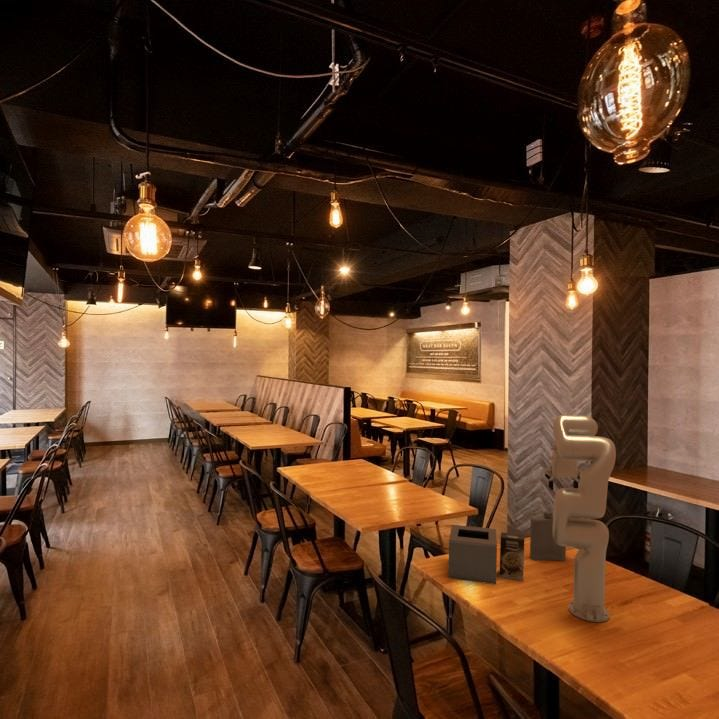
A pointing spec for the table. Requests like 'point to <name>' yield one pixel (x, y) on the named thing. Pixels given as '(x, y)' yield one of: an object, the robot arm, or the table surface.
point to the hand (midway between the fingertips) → (563, 490)
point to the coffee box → (511, 556)
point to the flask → (544, 539)
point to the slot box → (473, 554)
